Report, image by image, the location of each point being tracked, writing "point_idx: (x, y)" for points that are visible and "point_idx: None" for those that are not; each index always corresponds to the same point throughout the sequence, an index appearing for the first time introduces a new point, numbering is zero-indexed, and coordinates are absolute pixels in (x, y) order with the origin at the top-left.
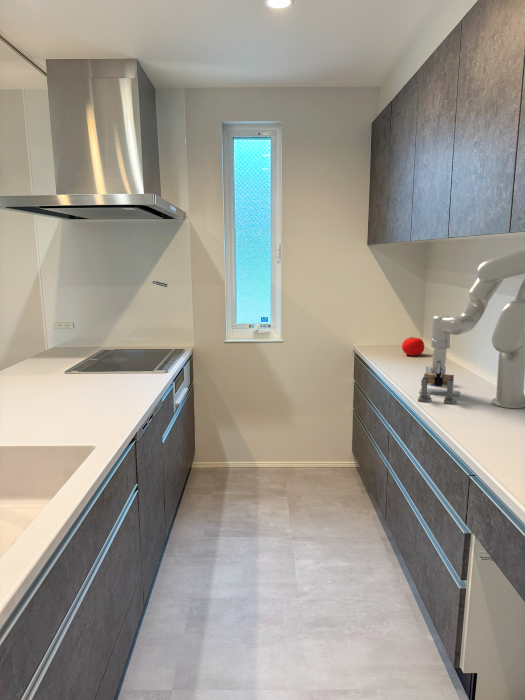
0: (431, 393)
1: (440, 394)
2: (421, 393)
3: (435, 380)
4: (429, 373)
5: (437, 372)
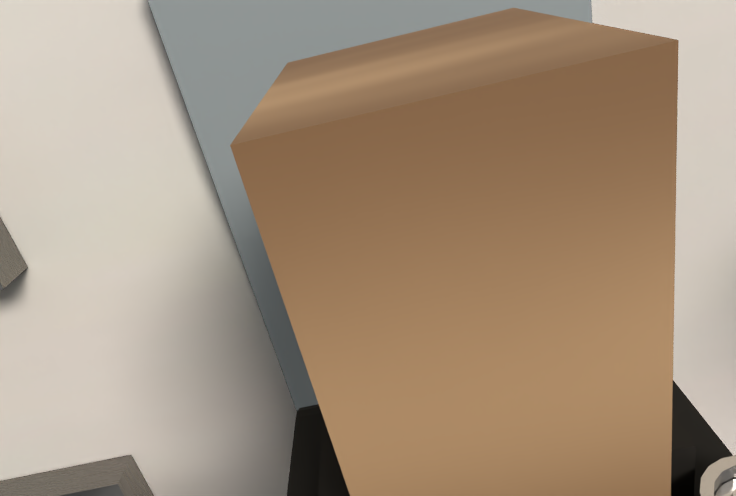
0: (233, 231)
1: (281, 361)
2: (169, 34)
3: (328, 439)
4: (626, 304)
5: None
